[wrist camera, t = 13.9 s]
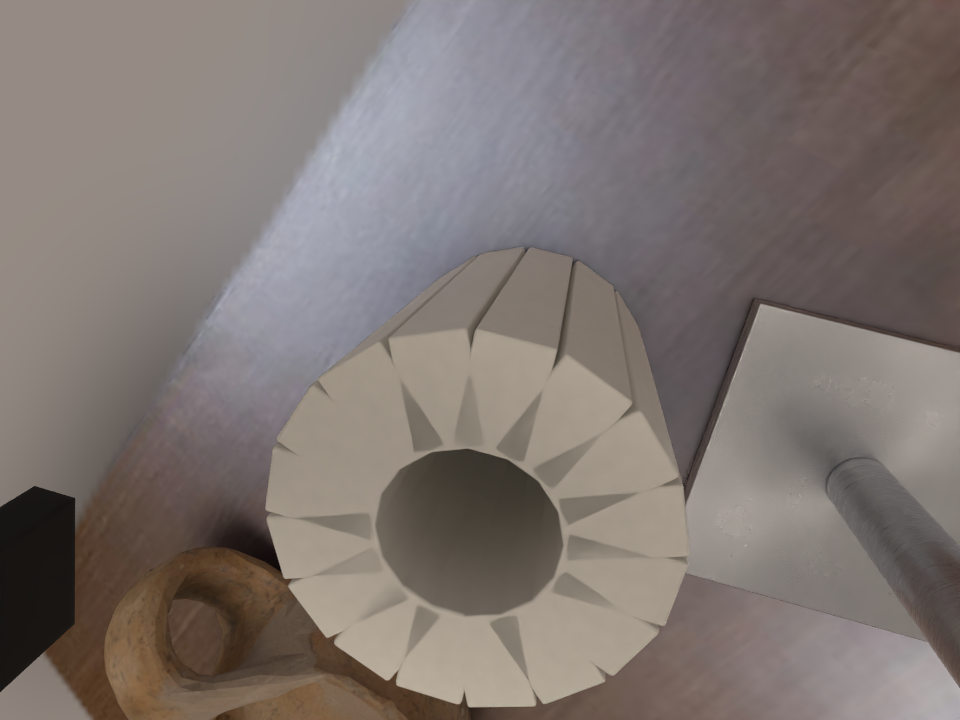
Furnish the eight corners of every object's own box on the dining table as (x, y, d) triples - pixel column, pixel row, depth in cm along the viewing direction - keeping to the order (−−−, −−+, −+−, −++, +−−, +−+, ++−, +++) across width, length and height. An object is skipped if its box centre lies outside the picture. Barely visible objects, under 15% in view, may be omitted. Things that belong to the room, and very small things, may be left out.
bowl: (100, 661, 35) (-51, 801, 25) (258, 454, 34) (167, 513, 24) (369, 854, 36) (326, 1066, 26) (528, 657, 35) (549, 796, 25)
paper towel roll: (430, 222, 26) (293, 281, 14) (675, 282, 26) (753, 400, 13) (389, 440, 30) (247, 641, 17) (605, 500, 29) (615, 755, 17)
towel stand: (753, 297, 25) (918, 443, 13) (1076, 376, 24) (1609, 621, 12) (659, 554, 29) (712, 861, 17) (934, 631, 28) (1216, 1022, 16)
